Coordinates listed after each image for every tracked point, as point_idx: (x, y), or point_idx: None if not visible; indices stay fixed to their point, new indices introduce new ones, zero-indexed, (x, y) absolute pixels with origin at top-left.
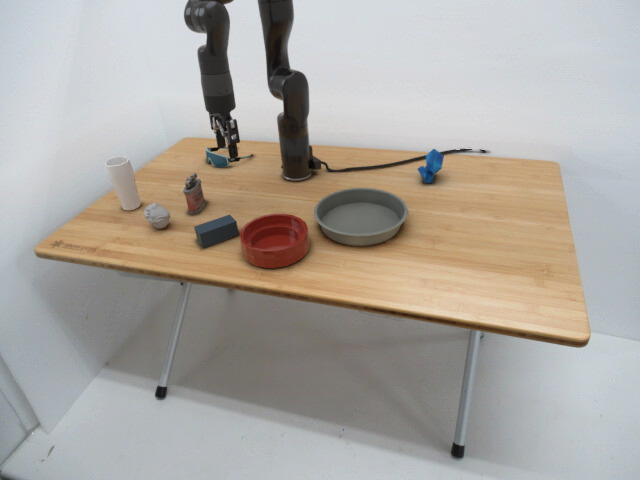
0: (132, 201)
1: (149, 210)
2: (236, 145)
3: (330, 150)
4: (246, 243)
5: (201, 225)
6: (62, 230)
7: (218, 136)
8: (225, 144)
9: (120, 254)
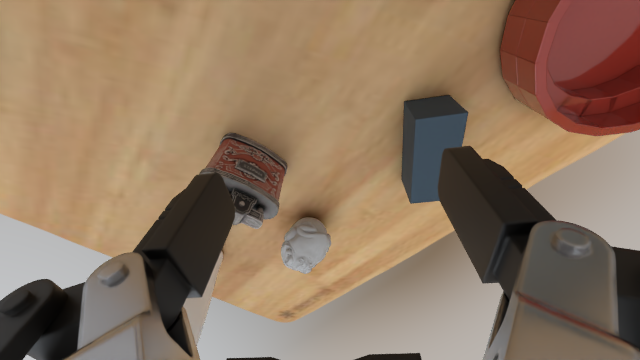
0: (216, 264)
1: (311, 268)
2: (519, 205)
3: None
4: (628, 126)
5: (417, 190)
6: (252, 311)
7: (200, 275)
8: (212, 181)
9: (361, 271)
